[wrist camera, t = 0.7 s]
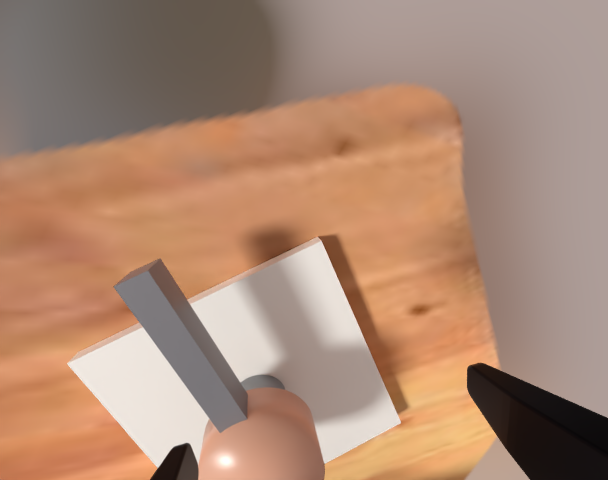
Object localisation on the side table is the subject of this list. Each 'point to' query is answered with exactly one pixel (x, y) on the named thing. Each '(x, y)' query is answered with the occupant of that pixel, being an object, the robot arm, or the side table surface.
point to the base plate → (252, 359)
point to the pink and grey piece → (224, 391)
